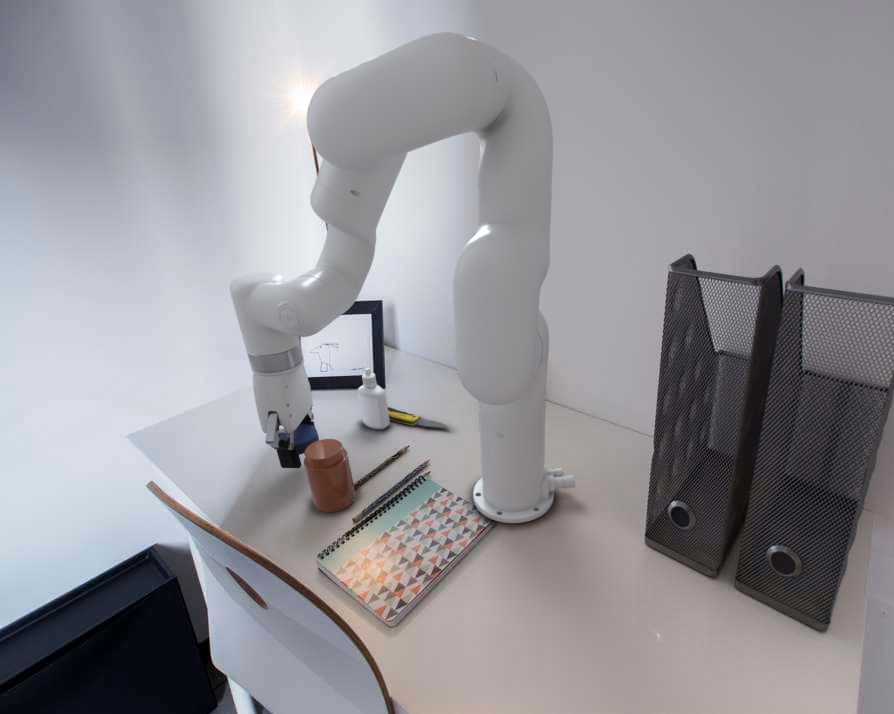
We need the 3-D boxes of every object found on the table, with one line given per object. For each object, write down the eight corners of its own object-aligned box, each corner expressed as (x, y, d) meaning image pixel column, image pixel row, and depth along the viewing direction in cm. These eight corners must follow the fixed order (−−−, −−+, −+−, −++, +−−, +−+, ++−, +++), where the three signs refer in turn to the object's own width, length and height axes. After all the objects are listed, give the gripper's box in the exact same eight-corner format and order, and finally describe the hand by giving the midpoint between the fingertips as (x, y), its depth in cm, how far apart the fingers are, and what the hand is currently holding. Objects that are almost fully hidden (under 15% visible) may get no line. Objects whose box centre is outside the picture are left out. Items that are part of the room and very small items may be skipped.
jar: (352, 482, 87) (342, 433, 83) (358, 505, 82) (348, 454, 78) (312, 492, 85) (299, 442, 81) (316, 516, 80) (302, 465, 76)
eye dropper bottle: (370, 433, 100) (360, 377, 94) (361, 420, 104) (351, 366, 99) (392, 427, 102) (383, 371, 96) (382, 414, 106) (374, 360, 100)
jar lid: (268, 455, 85) (265, 445, 84) (288, 431, 91) (285, 422, 90) (308, 457, 84) (305, 447, 83) (325, 433, 90) (323, 424, 89)
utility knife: (455, 420, 101) (447, 428, 99) (455, 425, 102) (448, 433, 99) (384, 405, 107) (375, 412, 105) (384, 410, 108) (376, 417, 105)
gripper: (275, 334, 87) (298, 426, 96) (222, 383, 72) (255, 486, 81) (320, 334, 87) (338, 426, 96) (276, 383, 72) (303, 487, 81)
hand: (300, 453), depth 88 cm, fingers closed on jar lid, 6 cm apart
